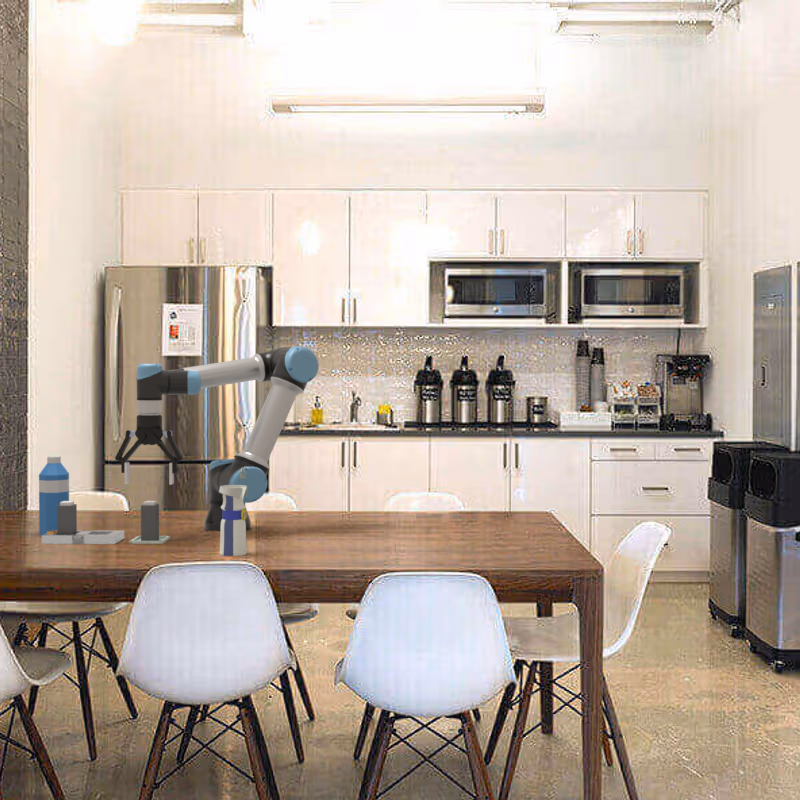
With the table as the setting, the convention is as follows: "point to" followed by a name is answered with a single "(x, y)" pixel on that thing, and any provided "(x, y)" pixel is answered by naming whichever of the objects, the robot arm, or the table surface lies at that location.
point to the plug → (149, 521)
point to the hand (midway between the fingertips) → (149, 484)
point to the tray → (138, 541)
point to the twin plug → (67, 518)
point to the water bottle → (52, 493)
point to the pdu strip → (84, 537)
